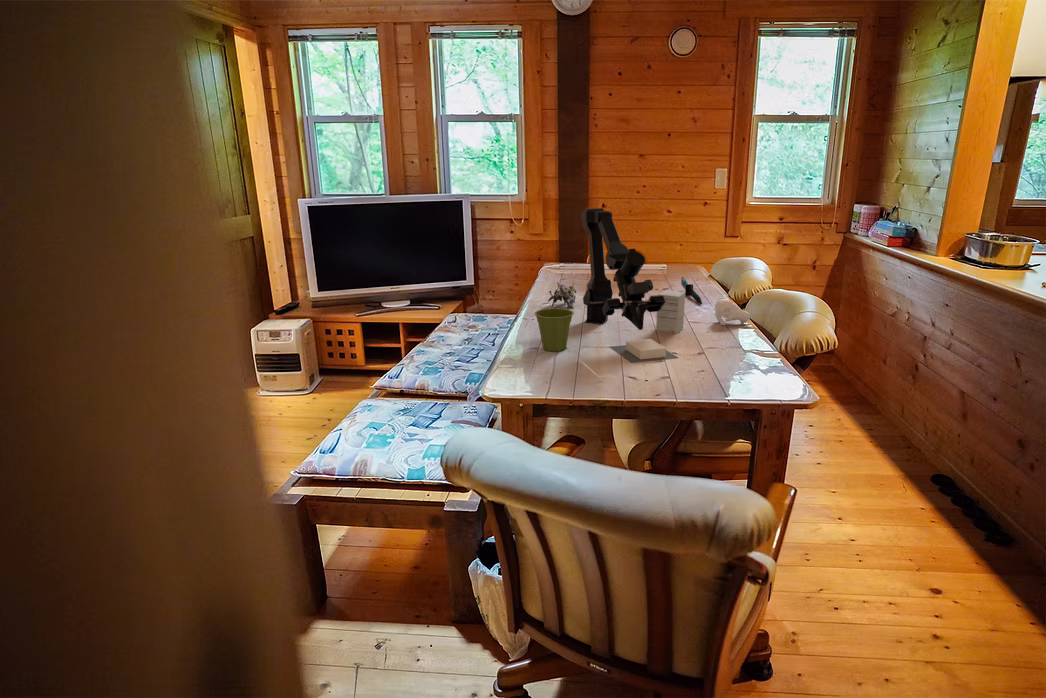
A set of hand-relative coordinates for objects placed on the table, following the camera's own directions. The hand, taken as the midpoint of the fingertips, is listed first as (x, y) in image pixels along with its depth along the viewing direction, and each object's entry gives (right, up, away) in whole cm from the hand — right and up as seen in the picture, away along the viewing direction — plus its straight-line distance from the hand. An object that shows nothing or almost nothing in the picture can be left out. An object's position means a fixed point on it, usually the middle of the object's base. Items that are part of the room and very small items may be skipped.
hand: (641, 329), depth 182 cm
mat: (0, -7, -1) cm, 7 cm away
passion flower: (-20, +10, +55) cm, 60 cm away
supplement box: (+14, 0, +23) cm, 27 cm away
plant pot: (-26, -6, +5) cm, 27 cm away
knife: (+34, +15, +69) cm, 79 cm away
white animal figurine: (+37, +3, +30) cm, 48 cm away
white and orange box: (-1, -4, +2) cm, 5 cm away
